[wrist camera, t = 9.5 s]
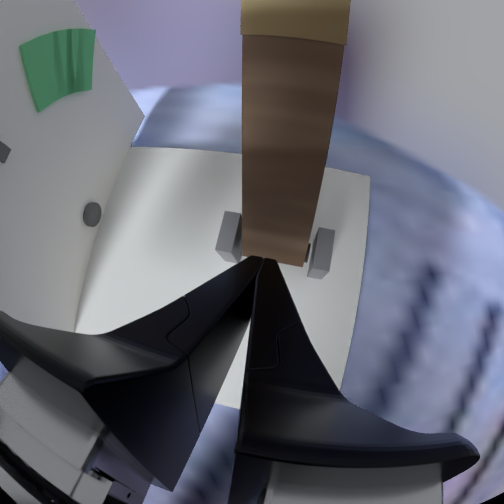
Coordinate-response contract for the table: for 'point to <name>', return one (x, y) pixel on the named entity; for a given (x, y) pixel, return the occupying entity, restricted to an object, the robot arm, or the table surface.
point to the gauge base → (136, 202)
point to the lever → (287, 119)
